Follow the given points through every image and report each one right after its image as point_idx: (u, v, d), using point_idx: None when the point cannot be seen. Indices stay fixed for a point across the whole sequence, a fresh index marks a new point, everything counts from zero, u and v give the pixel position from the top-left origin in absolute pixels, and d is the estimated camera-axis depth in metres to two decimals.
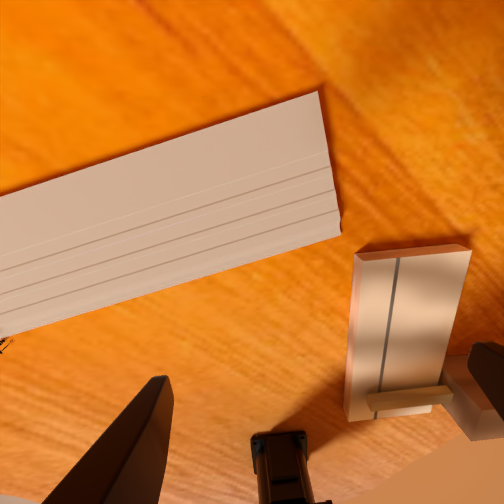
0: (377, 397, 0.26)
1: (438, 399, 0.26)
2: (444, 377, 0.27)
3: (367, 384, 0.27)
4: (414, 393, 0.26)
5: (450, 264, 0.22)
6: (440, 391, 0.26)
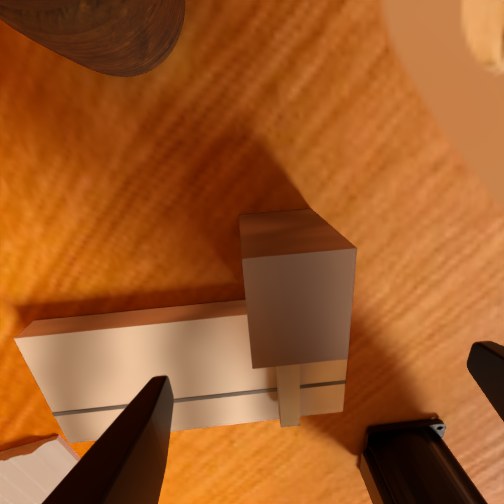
0: (279, 412, 0.17)
1: None
2: None
3: (267, 404, 0.18)
4: (277, 367, 0.15)
5: (44, 358, 0.15)
6: None
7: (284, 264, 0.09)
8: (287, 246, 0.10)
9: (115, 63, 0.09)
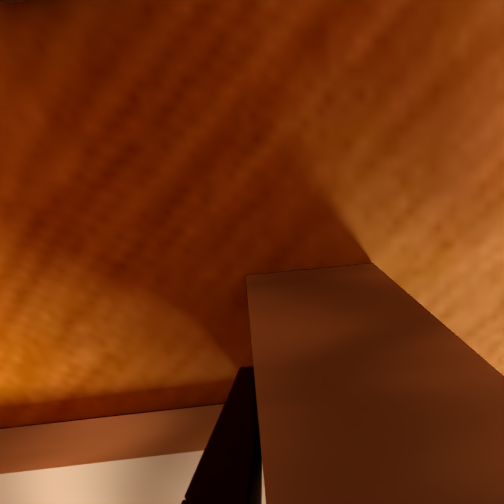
0: None
1: None
2: None
3: None
4: None
5: None
6: None
7: None
8: (397, 451, 0.03)
9: None
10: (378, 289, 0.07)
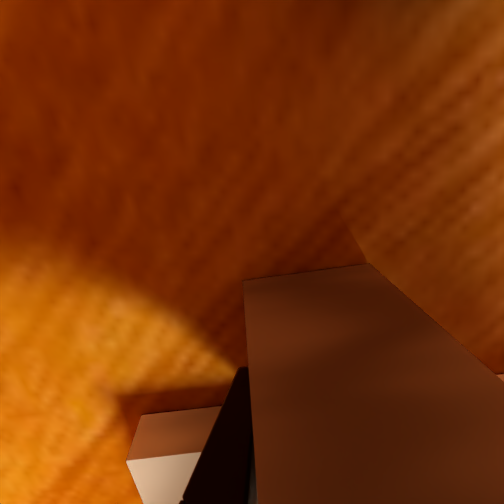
0: None
1: None
2: None
3: None
4: None
5: (168, 485, 0.09)
6: None
7: None
8: (389, 458, 0.03)
9: None
10: (374, 290, 0.07)
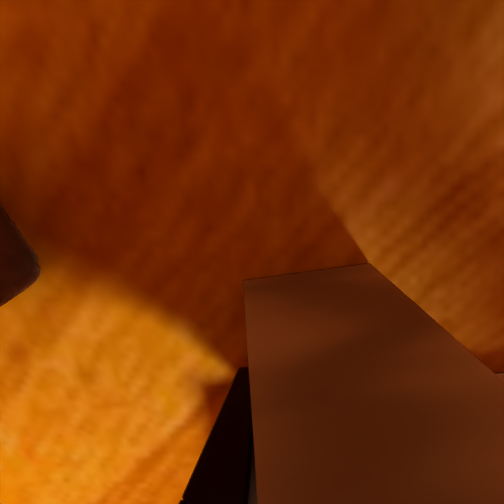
0: None
1: None
2: None
3: None
4: None
5: None
6: None
7: None
8: (389, 457, 0.03)
9: None
10: (374, 290, 0.07)
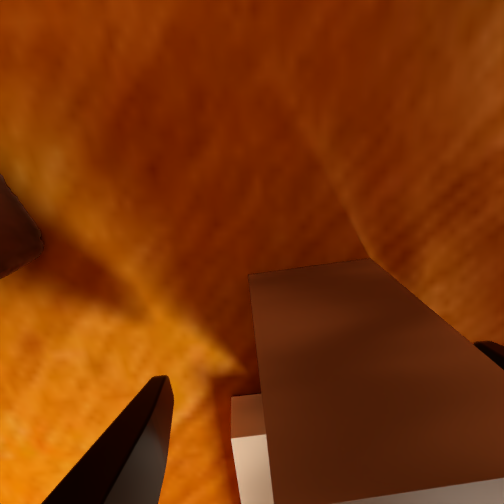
0: None
1: None
2: None
3: None
4: None
5: (265, 463, 0.10)
6: None
7: None
8: (388, 426, 0.04)
9: None
10: (374, 282, 0.07)
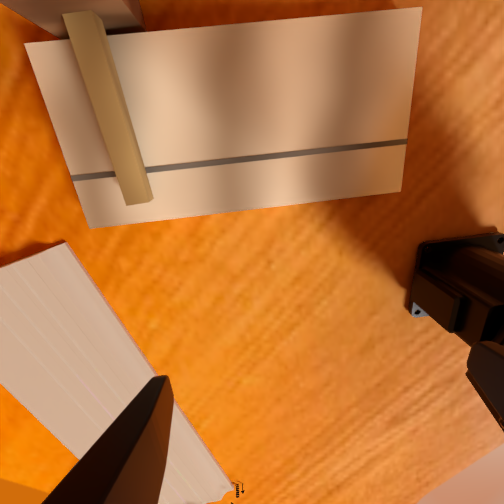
0: None
1: (88, 53, 0.11)
2: (65, 29, 0.12)
3: (317, 175, 0.16)
4: None
5: (60, 80, 0.13)
6: None
7: None
8: None
9: None
10: None
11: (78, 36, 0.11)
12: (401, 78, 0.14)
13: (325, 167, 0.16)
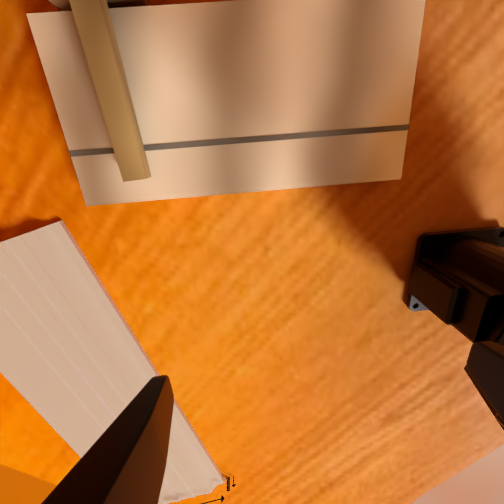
0: None
1: (89, 22, 0.11)
2: (68, 0, 0.12)
3: (316, 158, 0.16)
4: None
5: (61, 53, 0.13)
6: None
7: None
8: None
9: None
10: None
11: (79, 5, 0.11)
12: (404, 62, 0.14)
13: (325, 151, 0.15)
